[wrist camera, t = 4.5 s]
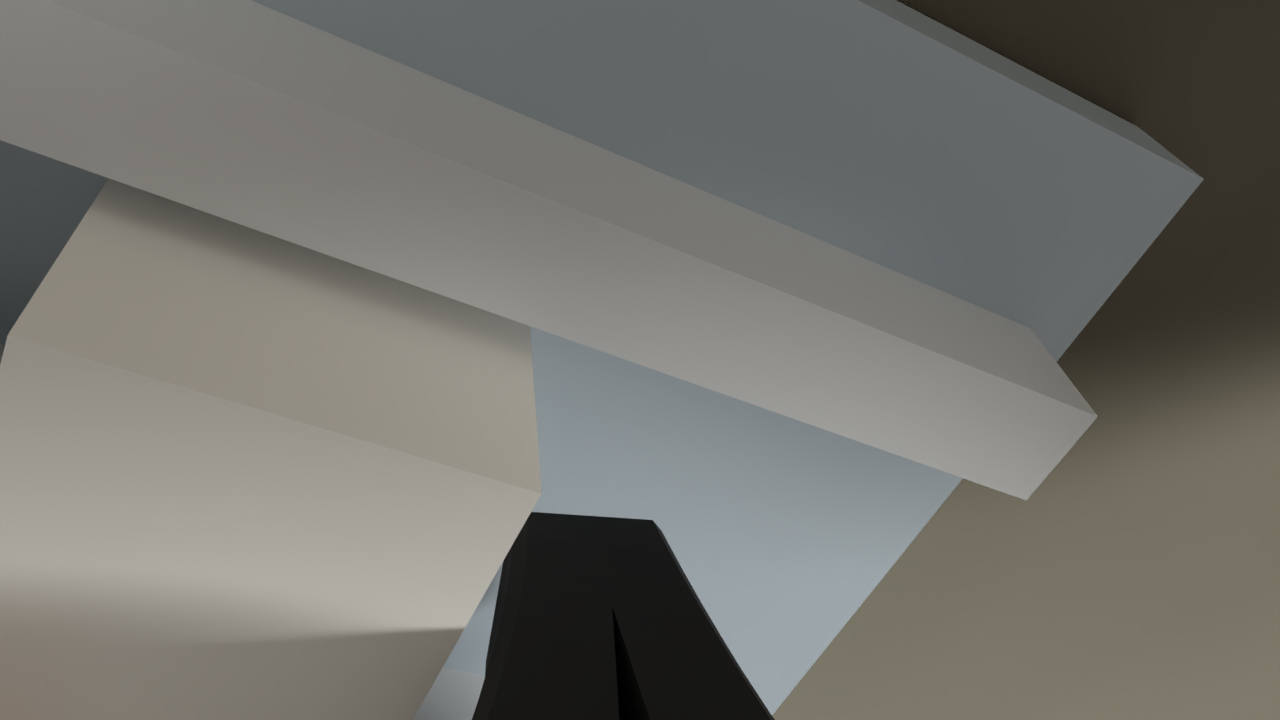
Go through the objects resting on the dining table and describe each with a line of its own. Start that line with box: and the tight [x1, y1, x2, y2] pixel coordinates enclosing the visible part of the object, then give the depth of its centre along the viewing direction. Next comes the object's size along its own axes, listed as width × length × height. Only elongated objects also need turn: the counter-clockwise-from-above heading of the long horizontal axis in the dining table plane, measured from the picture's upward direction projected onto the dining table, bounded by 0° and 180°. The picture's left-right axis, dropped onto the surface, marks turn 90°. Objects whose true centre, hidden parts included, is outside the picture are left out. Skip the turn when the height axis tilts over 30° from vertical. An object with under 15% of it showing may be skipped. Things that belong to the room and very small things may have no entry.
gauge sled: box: [0, 178, 542, 720], centre depth 8 cm, size 5×5×4 cm
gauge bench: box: [0, 0, 1204, 720], centre depth 9 cm, size 14×11×5 cm
